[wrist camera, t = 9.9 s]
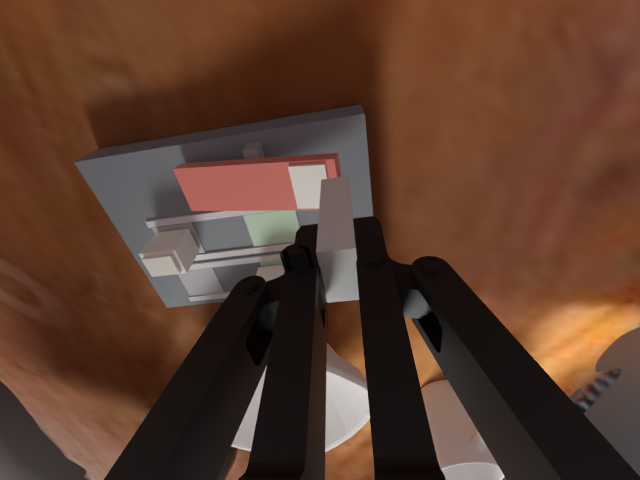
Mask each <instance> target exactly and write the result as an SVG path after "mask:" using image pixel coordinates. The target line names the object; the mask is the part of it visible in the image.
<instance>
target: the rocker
mask: <svg viewBox="0 0 640 480" xmlns="http://www.w3.org/2000/svg"><path fill="white" fill-rule="evenodd" d="M173 171H174V173H175V175H176V178H177V180H178V182H179V184H180V186H181V188H182V191H183V193H184V195H185V197H186V199H187V202H188V204H189V206H190V208H191V210H192V211H274V210H319V204H320V190H321V180H323V179H330V178H337V177H341V170H340V163H339V156H338V153H327V154H313V155H298V156H283V157H268V158H253V159H239V160H224V161H209V162H194V163H181V164H179V165H178V166H176V167H175V168H173Z"/></svg>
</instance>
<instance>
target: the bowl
mask: <svg viewBox="0 0 640 480" xmlns="http://www.w3.org/2000/svg"><path fill="white" fill-rule="evenodd" d="M266 367H267V366H266ZM265 373H266V368H265V370H264V373H263V375H262V377H261V379H260V382H259V384H258V386H257V389H256V391H255V393H254V395H253V398H252V400H251V402H250V404H249V407H248V409H247V411H246V414H245V416H244V418H243V420H242V423H241V425H240V427H239V429H238V432H237V434H236V436H235V439H234V441H233V443H232V445H231V446H232V447H236V448H239V449H244V450H249V451H251V447H252V442H253V437H254V431H255V426H256V421H257V415H258V410H259V405H260V399H261V394H262V389H263V383H264V378H265ZM369 419H370V413H369V401H368V390H367V379H366V377H365V376H364V375H363V374H362V373H361V371H360V370H359V369H358V368H356V367H355V366H354V365H352V364H351V363H350V362H349V361H347V360H345V359H343V358H341V357H339V356H338V355H337V354H336V353H335V351H334V350H333V349H332V348H331V347H330V345H329V344H328V343H327V364H326V429H325V452H327V451H328V450H330V449H332V448H334V447H336V446H338V445H339V444H341V443H342V442H344V441H345V440H347V439H348V438H350V437H352V436H353V435H354V434H355V433H356V432H357V431H358V430H359V429H360V428H362V427H363V426H364V425H365V424H366V423H367V421H368V420H369Z"/></svg>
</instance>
